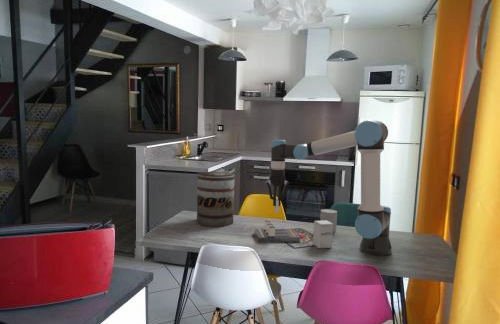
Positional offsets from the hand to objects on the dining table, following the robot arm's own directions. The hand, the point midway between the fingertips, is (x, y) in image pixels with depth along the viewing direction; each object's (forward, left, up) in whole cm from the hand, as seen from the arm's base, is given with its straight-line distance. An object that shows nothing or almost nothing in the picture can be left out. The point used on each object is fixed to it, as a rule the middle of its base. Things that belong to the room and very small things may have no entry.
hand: (276, 212), depth 197 cm
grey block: (+11, -34, -15) cm, 38 cm away
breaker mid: (0, +3, -11) cm, 12 cm away
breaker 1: (+6, +3, -11) cm, 13 cm away
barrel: (+33, +31, -15) cm, 48 cm away
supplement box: (-14, -22, -15) cm, 30 cm away
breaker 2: (-5, +3, -11) cm, 13 cm away
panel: (0, -1, -14) cm, 14 cm away
